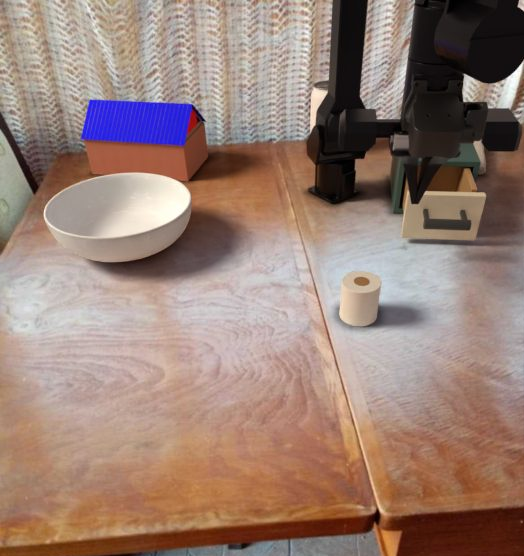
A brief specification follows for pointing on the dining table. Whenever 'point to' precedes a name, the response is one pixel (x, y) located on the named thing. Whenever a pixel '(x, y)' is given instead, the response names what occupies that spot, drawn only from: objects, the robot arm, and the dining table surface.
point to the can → (317, 99)
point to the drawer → (444, 207)
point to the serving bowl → (119, 216)
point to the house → (144, 138)
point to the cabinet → (398, 172)
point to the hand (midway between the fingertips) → (414, 202)
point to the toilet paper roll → (359, 298)
